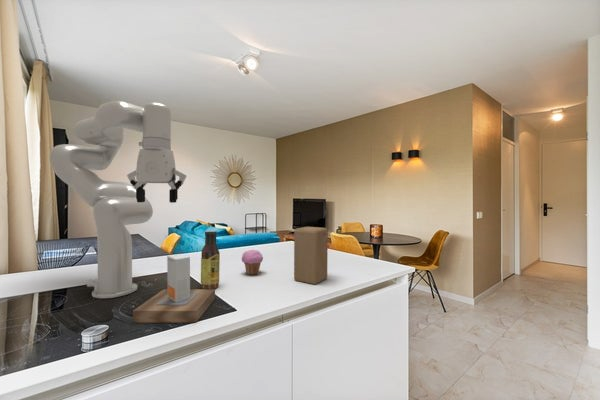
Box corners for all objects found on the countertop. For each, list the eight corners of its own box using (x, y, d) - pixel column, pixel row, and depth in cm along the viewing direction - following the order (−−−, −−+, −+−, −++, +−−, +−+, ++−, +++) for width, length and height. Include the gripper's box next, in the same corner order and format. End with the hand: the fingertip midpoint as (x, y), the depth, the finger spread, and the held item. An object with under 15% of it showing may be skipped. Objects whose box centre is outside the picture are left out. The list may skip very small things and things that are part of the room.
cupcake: (264, 275, 111) (264, 251, 110) (242, 277, 108) (242, 252, 108) (261, 270, 119) (261, 247, 119) (240, 271, 117) (240, 248, 117)
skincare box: (166, 297, 78) (166, 255, 78) (181, 293, 81) (181, 253, 81) (175, 303, 74) (175, 259, 74) (190, 299, 77) (190, 256, 77)
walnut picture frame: (132, 322, 69) (132, 309, 69) (163, 298, 85) (163, 288, 85) (196, 322, 70) (196, 310, 70) (215, 298, 86) (215, 288, 86)
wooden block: (328, 278, 107) (328, 227, 107) (315, 285, 99) (316, 230, 99) (306, 274, 113) (306, 226, 112) (293, 280, 104) (293, 228, 104)
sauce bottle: (213, 291, 93) (213, 232, 92) (197, 289, 94) (196, 232, 94) (222, 284, 99) (222, 230, 99) (207, 283, 100) (207, 229, 100)
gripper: (120, 143, 79) (120, 202, 79) (180, 143, 79) (180, 203, 79) (135, 147, 86) (135, 201, 87) (190, 148, 87) (190, 202, 87)
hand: (157, 202), depth 83 cm, fingers open, 9 cm apart
